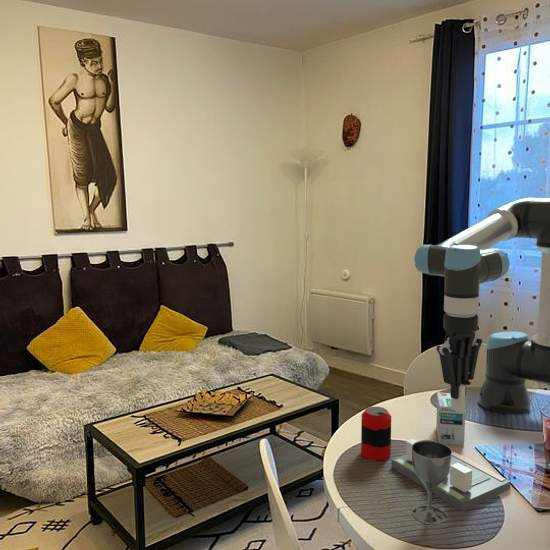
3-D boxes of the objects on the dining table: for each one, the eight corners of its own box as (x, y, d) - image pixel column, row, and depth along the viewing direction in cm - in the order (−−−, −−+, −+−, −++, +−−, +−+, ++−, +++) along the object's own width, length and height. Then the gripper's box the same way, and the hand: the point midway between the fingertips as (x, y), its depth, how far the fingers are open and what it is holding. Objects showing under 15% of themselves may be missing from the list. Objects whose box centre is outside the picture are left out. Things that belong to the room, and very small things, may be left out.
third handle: (457, 480, 125) (457, 462, 125) (471, 489, 122) (472, 470, 121) (449, 483, 124) (450, 465, 123) (463, 492, 121) (464, 473, 120)
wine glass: (405, 505, 121) (406, 441, 118) (440, 502, 121) (442, 439, 119) (417, 527, 113) (419, 459, 110) (455, 524, 114) (457, 457, 111)
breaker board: (437, 450, 145) (437, 442, 144) (510, 489, 126) (510, 480, 126) (391, 466, 137) (391, 458, 136) (461, 511, 118) (462, 501, 118)
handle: (412, 455, 137) (413, 438, 137) (424, 462, 134) (425, 445, 133) (405, 458, 136) (406, 441, 135) (417, 464, 133) (418, 447, 132)
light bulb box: (464, 446, 147) (466, 408, 145) (438, 444, 148) (439, 406, 146) (459, 428, 157) (461, 393, 155) (435, 427, 159) (436, 391, 157)
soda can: (373, 464, 138) (373, 419, 136) (355, 451, 145) (355, 408, 143) (396, 457, 142) (397, 413, 140) (378, 445, 148) (379, 402, 146)
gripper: (467, 306, 132) (464, 398, 136) (428, 314, 126) (426, 411, 130) (493, 312, 126) (489, 409, 130) (453, 321, 119) (450, 422, 124)
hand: (457, 410), depth 130 cm, fingers closed
